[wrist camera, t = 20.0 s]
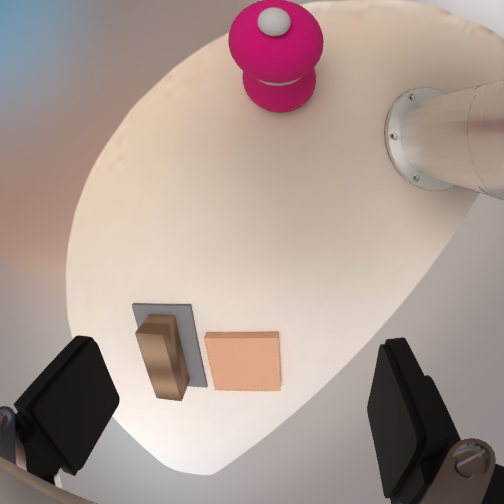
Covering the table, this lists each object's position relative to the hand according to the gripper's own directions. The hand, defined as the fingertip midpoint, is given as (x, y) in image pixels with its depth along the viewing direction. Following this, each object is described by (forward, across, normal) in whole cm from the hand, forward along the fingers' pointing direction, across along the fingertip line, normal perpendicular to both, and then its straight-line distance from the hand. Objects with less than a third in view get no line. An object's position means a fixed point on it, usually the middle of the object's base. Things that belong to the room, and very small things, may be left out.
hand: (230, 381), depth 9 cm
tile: (+28, +5, +17) cm, 33 cm away
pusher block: (+28, +16, +20) cm, 38 cm away
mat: (+28, +16, +20) cm, 38 cm away
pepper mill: (+28, -2, -14) cm, 32 cm away
